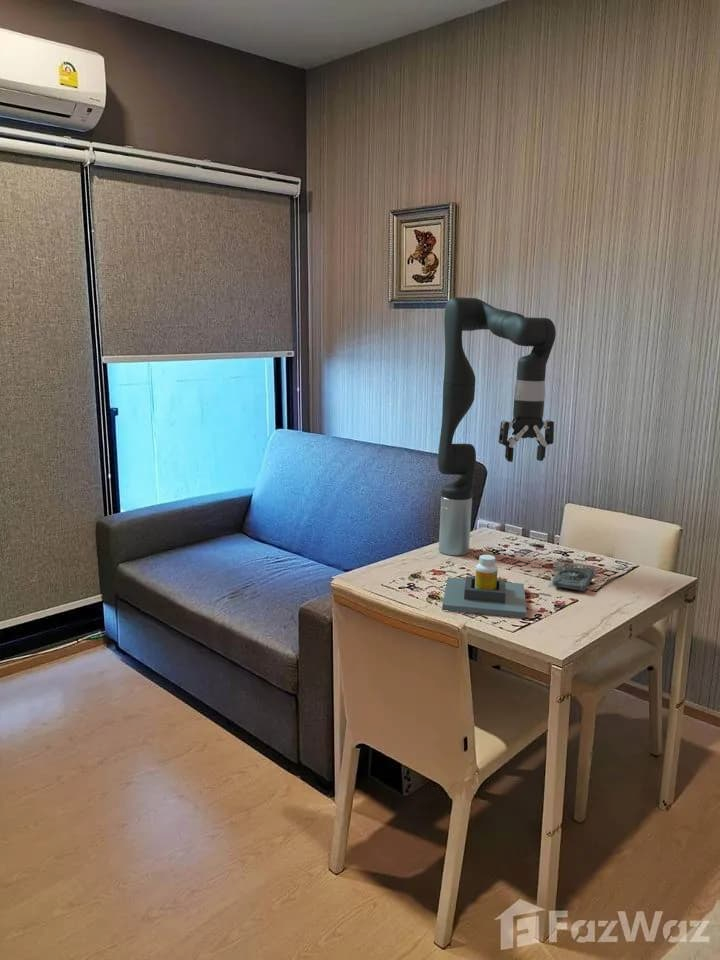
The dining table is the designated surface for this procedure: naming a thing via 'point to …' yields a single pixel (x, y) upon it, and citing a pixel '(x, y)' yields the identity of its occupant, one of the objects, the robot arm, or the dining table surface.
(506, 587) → the socket board
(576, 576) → the graphics card
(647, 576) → the dining table surface
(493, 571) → the supplement bottle
